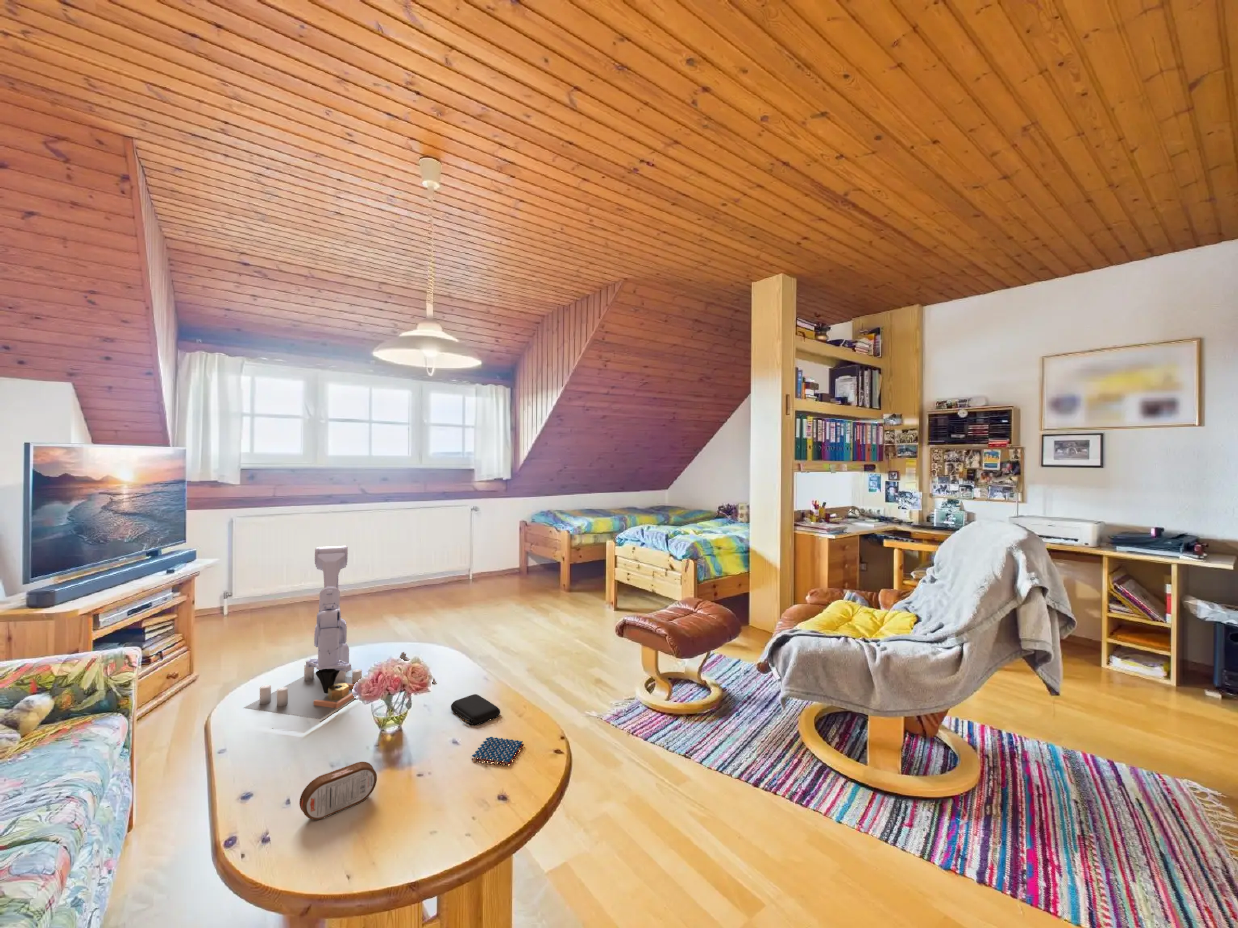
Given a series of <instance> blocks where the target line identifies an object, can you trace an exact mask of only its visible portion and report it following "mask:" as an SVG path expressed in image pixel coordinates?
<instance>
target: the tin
mask: <svg viewBox="0 0 1238 928" xmlns="http://www.w3.org/2000/svg"><path fill="white" fill-rule="evenodd" d="M377 781H378V775H377V772H376V769H374V767H373V765H372V764H371V763H369V762H367V761H358V762H355V763H352V764H348V765H346V766H344V767H341V768H338V769H335V770H333V771H329V772H326V773H324V774H322V775H319V776H318V777H315V778H314V779H313V780H311V781H310V782H309V783H308V784H307V785H305V788H304V789H303V791H302V792H301V794H300V797H299V804H298V805H299V809H300V810H301V812H302V813H303V814H304V816H305V817H306V818H308V819H309V820H316V821H317V820H322V819H324V817H325V818H327V817H329V815H330V816H332V815H334V814H336V812H337V813H339V812H341V811H344V810H345V809H349V808H351V807H353V806H356V805H358V803H359V804H360V803H362V802H364V801H365V800H366V799H367V798H369V797H370V796H371V794H372V793H373V791H374V790H375V788H376V785H377Z"/></svg>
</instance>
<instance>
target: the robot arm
mask: <svg viewBox="0 0 1238 928" xmlns="http://www.w3.org/2000/svg"><path fill="white" fill-rule="evenodd" d="M348 551H349V549H348V546H347V545H336V546H333V545H332V546H331V545H330V546H316V548H315V549H314V564H315V568H316V570H319V571H322V572H323V573H322V574H323V586H324V588H323V589H322V590H321V591H319V598H318V599H319V600H318V601H319V603H318V612H316V613H317V614H316V624H315V627H314V636H313V640H314V644H313V645H314V647H315V648H317V658H316V659H315V658H309V659H308V660H306V661H305V665H306V667H308V668H309V667H314V668H316V670H317V671H316V672H315V673H316V675H317V677H318V678H319V680H320V682H321V684H322V687H323V691H324V693H328V688H329V687H330V686H332V685H334V682H335V679H336V677H337V675H338V673H339V671H344V672H346V673H349V671H351V670H352V664H351V663H350V648H349V647H350V646H349V645H348V644H347V641H348V640H347V639H348V638H347V634H348V628H347V627H348V626H347V621H346V620H345V619H344V618H342V612H341V611H342V610H341V605H340V604H341V602H340V601H341V591H340V589H339V575H340V572H341V570H343V569H345V568H347V566H348V561H349V560H348V554H349V553H348Z"/></svg>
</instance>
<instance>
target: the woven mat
mask: <svg viewBox="0 0 1238 928" xmlns="http://www.w3.org/2000/svg"><path fill="white" fill-rule="evenodd" d="M508 745H509V746H508ZM522 745H524V746H525V744H524V743H523V740H518V739H517V740H516V739H514V740H513V739H509V738H503V737H501V738H500V737H495V736H494V737H493V736H489V737H486V738H485V740H483V741H482V744H480V747H477V750H475V751H474V754H472V755H471V757H472V758H471V760H472V762H473V761H475V762H478V761H481V763H482V762H484V761H485V762H487V761H488V762H489V763H491V762H494V763H493V765H494V764H496V765H498V764H497V762H498V763H499V764H500V763H501V765H505V764H506V765H508V764H510V766H511V765H512V764H513V762H512V760H513V759H514V760H513V761H514V762H515V760H516V758H517V756H518V755H519V753H520V752H519V750H520V748H522V747H523V748H524V746H522ZM523 748H522V749H523ZM518 752H519V753H518ZM515 753H516V754H515ZM514 755H516V756H514ZM515 757H516V758H515ZM477 758H478V759H477ZM490 759H491V760H490ZM502 761H503V762H502ZM506 765H505V766H506Z"/></svg>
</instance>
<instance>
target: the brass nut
mask: <svg viewBox="0 0 1238 928" xmlns="http://www.w3.org/2000/svg"><path fill="white" fill-rule="evenodd" d="M347 695H349V685H347V684H346V683H339V684H334V685H332V686H330V687H329V688H328V698H329V699H330V700H331V701H333V700H341V699H342V698H344V697H346V696H347Z"/></svg>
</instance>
